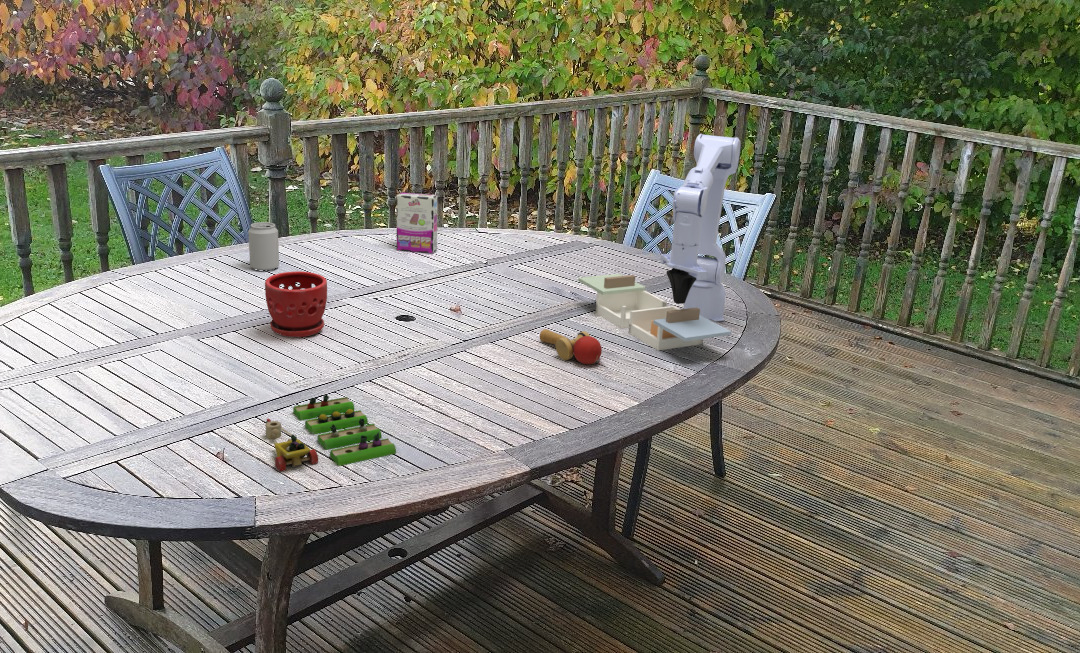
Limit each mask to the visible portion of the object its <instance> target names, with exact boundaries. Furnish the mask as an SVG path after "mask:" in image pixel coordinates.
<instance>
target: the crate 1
mask: <svg viewBox="0 0 1080 653" xmlns="http://www.w3.org/2000/svg"><path fill="white" fill-rule="evenodd" d="M595 303H596V304H595V315H594V316H595V317H602V318H604V320H607V321H609V322H610V323H611V324H613V325H615V326H617V327H618V328H620V329H629V322H630V311H635V310H643V309H651V308H660V307H668V306H667V304H668V301H666V300H664V299H662V298H661V297H658V296H656V295H654V294H652V293H650V292H648V291H647V290H646V289H645V290H643V291H634V292H625V293H616V294H607V295H602V294H600V293H599V292H597V291H596V302H595Z"/></svg>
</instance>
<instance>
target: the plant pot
mask: <svg viewBox="0 0 1080 653" xmlns="http://www.w3.org/2000/svg"><path fill="white" fill-rule="evenodd" d="M265 279H266V280H265V282H264V290H265V292H264V293H265V301H266V302H265V303H266V305H267V310H268V313H269V316H270V317H271V319H272V320H271V321H270V322H269V326H270V328H271V330H272V331H273V332H274V333H276V334H278V335H280V336H282V337H287V338H305V337H310V336H313V335H316V334H318V333H319V332H321V331H322V330H323V328H324V327H325V321H324V319H323V317H324V313H325V310H326V308H327V300H328V281H327V278H325V277H324V276H323V275H321V274H318V273H315V272H311V271H302V270H301V271H299V270H297V271H296V270H295V271H285V272H280V273H279V272H278V273H275V274H273V275H270V276H269V277H267V278H265ZM297 283H299V286H298V285H297ZM281 285H283V288H280V286H281ZM312 285H314V287H313V286H312ZM290 287H292V288H291V289H289V288H290Z"/></svg>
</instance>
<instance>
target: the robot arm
mask: <svg viewBox="0 0 1080 653" xmlns="http://www.w3.org/2000/svg"><path fill="white" fill-rule="evenodd" d="M740 153H741V140H740V139H739V137H737V136H735V137H729V136H721V135H720V136H719V135H711V134H710V135H709V134H703V133H699V134H698V135H697V137H696V139H695V140H694V146H693V157H694V160H695V162H696V166H695V167H693V168H691V169H690V170H689V171H688V173H687V175H686V178H685V179H684V182H683V184H682V186H680V187H679V188H676V189H675V191H674V194H673V197H672V198H673V199H672V221H673V231H672V240H671V253H662V254H660V264H664V265H665V264H666V265H665V266H666V267H667V268H669V270H666V276H667V277H668V280H669V283H670V287H671V292H672V298H673V300H672V301H673V303H674V304H676V305H680V304H683V308H682V309H688V308H696V307H697V308H699V309H700V314H699V315H701V316H702V317H704V318H706V319H708V320H710V321H712V322H714V323H716V322H717V323H718V322H723V321H725V320H726V319H725V318H724V313H725V312H724V310H725V304H726V288H725V287H724V285H723V284H722V282H723V280H724V278H725V272H726V258H727V256H726V253H725V251H724V250H723V249H721V247H720V246H719V245H718V244H717V239H718V233H719V227H720V220H721V214H722V208H723V207H722V206H723V203H724V202H723V201H724V196H725V190H726V189H725V188H726V183H727V181H728V178H729V176H731V175H733V174H736V172H737V169H738V166H739V160H740ZM701 255H702V256H701ZM703 255H705V256H703ZM707 256H712V257H707Z"/></svg>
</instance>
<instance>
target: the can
mask: <svg viewBox="0 0 1080 653" xmlns="http://www.w3.org/2000/svg"><path fill="white" fill-rule="evenodd" d="M247 234H248V248H249V249H248V250H249V251H248V252H249V266H250V268H252V269H253V268H254V269H257V270H272V269H275V268H276V269H277V268H278V267H279V266H280V253H279V251H280V250H279V229H278V228H277V227H276V224H275V223H273V222H269V221H267V222H266V221H261V222H254V223H251V224H250V228H249V229H248V233H247ZM254 269H253V270H254ZM276 269H275V270H276ZM272 271H273V270H272Z"/></svg>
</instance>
